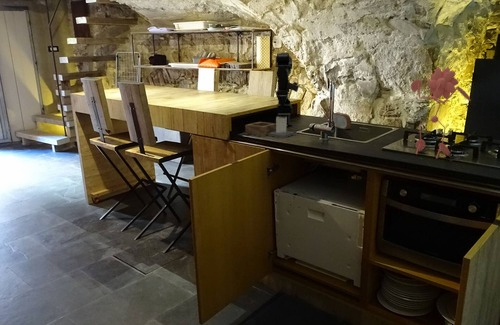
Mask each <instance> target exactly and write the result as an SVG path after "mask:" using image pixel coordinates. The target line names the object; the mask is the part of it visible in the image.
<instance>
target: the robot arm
mask: <svg viewBox="0 0 500 325" xmlns="http://www.w3.org/2000/svg"><path fill="white" fill-rule="evenodd" d="M274 66H275V67H274V68H277V71H276V76H277V90H276V92H275V95H276V98H277V100H278V102H277V105H276V117H287V125H289V124H291V117H292V116H294V108H293V106H292V105H291V101H290V99H289V94H290V91H293V92H296V93H298V90H299V87H300V85H298V82H296V81H294V82H293V83H292V82H290V79H289V76H290V75H291V73H292V69H293V58H292V56H291V55H290V53H289V52H280V53H277V54H276V55H275V63H274Z"/></svg>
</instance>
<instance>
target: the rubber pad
mask: <svg viewBox="0 0 500 325" xmlns="http://www.w3.org/2000/svg"><path fill="white" fill-rule="evenodd" d="M294 134H295V135H296V132H295V131H289V130H287V132H286V134H276V131H275V132H271V133H268V137H271V136H274V137H273V138H278V137H281V138H280V139H286V138H285V137H287V138H289V137H288V136H290V137H292V136H291V135H293V136H295V135H294Z"/></svg>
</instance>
